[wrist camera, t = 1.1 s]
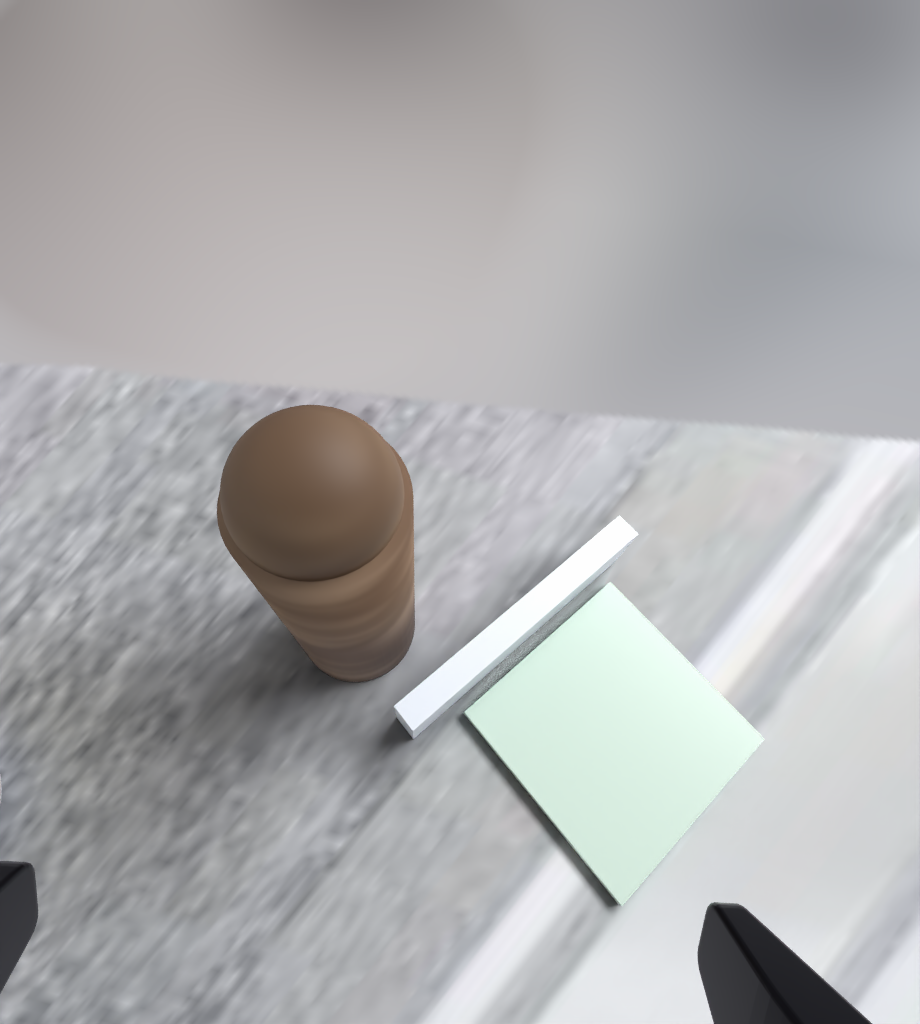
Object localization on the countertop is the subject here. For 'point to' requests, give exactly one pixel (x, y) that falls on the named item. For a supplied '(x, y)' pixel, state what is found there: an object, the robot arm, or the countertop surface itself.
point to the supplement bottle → (0, 789)
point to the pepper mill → (325, 535)
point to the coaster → (614, 738)
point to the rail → (512, 628)
